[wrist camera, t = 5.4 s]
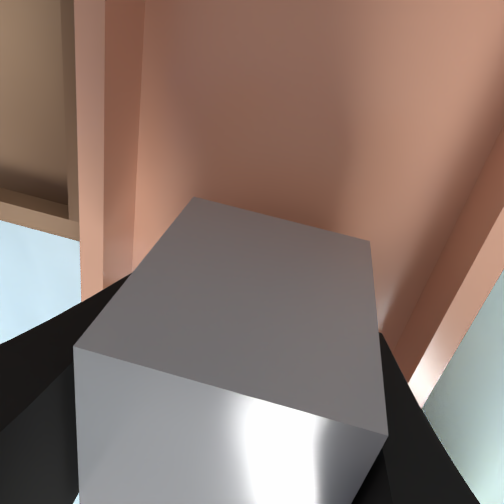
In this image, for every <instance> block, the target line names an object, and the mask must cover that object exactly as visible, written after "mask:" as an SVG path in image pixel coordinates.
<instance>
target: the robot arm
mask: <svg viewBox="0 0 504 504" xmlns="http://www.w3.org/2000/svg"><path fill="white" fill-rule="evenodd" d="M131 274H132V273H130V274H129V275H127V276H125V277H123V278H122V279H120V280H118V281H117V282H115V283H113V284H112V285H110V286H108V287H107V288H105V289H103V290H101V291H100V292H98V293H96V294H95V295H93V296H91V297H90V298H88V299H86V300H84V301H82V302H81V303H79V304H77V305H75V306H74V307H72V308H70V309H68V310H66V311H65V312H63V313H61V314H59V315H58V316H56V317H54V318H52V319H50V320H48V321H46V322H44V323H42V324H40V325H38V326H36V327H34V328H32V329H30V330H29V331H27V332H25V333H23V334H21V335H19V336H17V337H15V338H13V339H11V340H9V341H7V342H4V343H2V344H0V504H73V502H74V500H75V498H76V497H77V495H78V493H79V476H78V452H77V428H76V404H75V380H74V355H73V346H74V345H75V343H76V342H77V341H78V340H79V338H80V337H81V336H82V335H83V333H84V332H85V331H86V330H87V328H88V327H89V326H90V325H91V323H92V322H93V321H94V320H95V319H96V317H97V316H98V315H99V314H100V312H101V311H102V310H103V309H104V307H105V306H106V305H107V304H108V302H109V301H110V300H111V299H112V297H113V296H114V295H115V294H116V292H117V291H118V290H119V289H120V287H121V286H122V285H123V284H124V282H125V281H126V280H127V279H128V277H129V276H130V275H131ZM379 342H380V352H381V363H382V373H383V384H384V395H385V405H386V416H387V426H388V437H387V439H386V441H385V443H384V445H383V447H382V448H381V450H380V452H379V454H378V456H377V457H376V459H375V461H374V463H373V465H372V467H371V468H370V470H369V472H368V474H367V476H366V477H365V479H364V481H363V483H362V485H361V487H360V488H359V490H358V492H357V494H356V496H355V498H354V499H353V501H352V503H351V504H480V503H479V501H478V500H477V498H476V497H475V495H474V494H473V493H472V491H471V490H470V488H469V487H468V485H467V484H466V482H465V481H464V479H463V478H462V476H461V474H460V473H459V471H458V470H457V468H456V467H455V465H454V463H453V462H452V460H451V459H450V457H449V455H448V454H447V452H446V451H445V449H444V447H443V446H442V444H441V442H440V441H439V439H438V437H437V436H436V434H435V432H434V430H433V429H432V427H431V425H430V423H429V422H428V420H427V418H426V416H425V414H424V413H423V411H422V409H421V407H420V406H419V404H418V402H417V400H416V398H415V396H414V395H413V393H412V391H411V389H410V387H409V385H408V383H407V381H406V379H405V377H404V375H403V373H402V372H401V370H400V368H399V366H398V364H397V362H396V360H395V358H394V356H393V354H392V352H391V350H390V348H389V346H388V344H387V342H386V340H385V338H384V336H383V334H382V333H380V332H379Z"/></svg>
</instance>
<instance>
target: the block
mask: <svg viewBox="0 0 504 504" xmlns="http://www.w3.org/2000/svg"><path fill="white" fill-rule="evenodd" d="M73 355H74V380H75V404H76V428H77V452H78V476H79V500H80V504H351V503H352V501H353V499H354V498H355V496H356V494H357V492H358V490H359V488H360V487H361V485H362V483H363V481H364V479H365V477H366V476H367V474H368V472H369V470H370V468H371V467H372V465H373V463H374V461H375V459H376V457H377V456H378V454H379V452H380V450H381V448H382V447H383V445H384V443H385V441H386V439H387V437H388V426H387V416H386V405H385V395H384V384H383V373H382V363H381V352H380V342H379V331H378V321H377V310H376V299H375V289H374V278H373V268H372V257H371V247H370V241H367V240H363V239H359V238H356V237H352V236H348V235H344V234H340V233H336V232H332V231H328V230H324V229H320V228H316V227H312V226H308V225H304V224H300V223H296V222H292V221H288V220H284V219H280V218H276V217H273V216H269V215H265V214H261V213H257V212H253V211H249V210H245V209H241V208H237V207H233V206H229V205H225V204H221V203H217V202H213V201H209V200H205V199H201V198H197V197H193V198H192V199H191V200H190V202H189V203H188V204H187V205H186V207H185V208H184V209H183V210H182V212H181V213H180V214H179V215H178V217H177V218H176V219H175V220H174V222H173V223H172V224H171V225H170V226H169V228H168V229H167V230H166V231H165V233H164V234H163V235H162V236H161V238H160V239H159V240H158V241H157V243H156V244H155V245H154V246H153V248H152V249H151V250H150V251H149V253H148V254H147V255H146V256H145V258H144V259H143V260H142V261H141V263H140V264H139V265H138V266H137V268H136V269H135V270H134V271H133V272H132V274H131V275H130V276H129V277H128V279H127V280H126V281H125V282H124V284H123V285H122V286H121V287H120V289H119V290H118V291H117V292H116V294H115V295H114V296H113V297H112V299H111V300H110V301H109V302H108V304H107V305H106V306H105V307H104V309H103V310H102V311H101V312H100V314H99V315H98V316H97V317H96V319H95V320H94V321H93V322H92V323H91V325H90V326H89V327H88V328H87V330H86V331H85V332H84V333H83V335H82V336H81V337H80V338H79V340H78V341H77V342H76V343H75V345H74V346H73Z"/></svg>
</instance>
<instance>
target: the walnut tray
mask: <svg viewBox="0 0 504 504" xmlns="http://www.w3.org/2000/svg"><path fill="white" fill-rule="evenodd" d="M0 220H2V221H6V222H10V223H13V224H17V225H21V226H24V227H28V228H32V229H36V230H39V231H43V232H47V233H50V234H54V235H58V236H61V237H65V238H69V239H73V240H76V241H80V226H79V186H78V146H77V106H76V66H75V26H74V0H0Z"/></svg>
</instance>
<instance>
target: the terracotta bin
mask: <svg viewBox="0 0 504 504" xmlns="http://www.w3.org/2000/svg"><path fill="white" fill-rule="evenodd" d="M74 26H75V66H76V106H77V146H78V186H79V226H80V266H81V302H82V301H84V300H86V299H88V298H90V297H91V296H93V295H95V294H96V293H98V292H100V291H101V290H103V289H105V288H107V287H108V286H110V285H112V284H113V283H115V282H117V281H118V280H120V279H122V278H123V277H125V276H127V275H129V274H130V273H132V272H133V271H134V270H135V269H136V268H137V266H138V265H139V264H140V263H141V261H142V260H143V259H144V258H145V256H146V255H147V254H148V253H149V251H150V250H151V249H152V248H153V246H154V245H155V244H156V243H157V241H158V240H159V239H160V238H161V236H162V235H163V234H164V233H165V231H166V230H167V229H168V228H169V226H170V225H171V224H172V223H173V222H174V220H175V219H176V218H177V217H178V215H179V214H180V213H181V212H182V210H183V209H184V208H185V207H186V205H187V204H188V203H189V202H190V200H191V199H192V198H193V197H197V198H201V199H205V200H209V201H213V202H217V203H221V204H225V205H229V206H233V207H237V208H241V209H245V210H249V211H253V212H257V213H261V214H265V215H269V216H273V217H276V218H280V219H284V220H288V221H292V222H296V223H300V224H304V225H308V226H312V227H316V228H320V229H324V230H328V231H332V232H336V233H340V234H344V235H348V236H352V237H356V238H359V239H363V240H367V241H370V247H371V257H372V268H373V278H374V289H375V299H376V310H377V321H378V331H379V332H380V333H382V334H383V336H384V338H385V340H386V342H387V344H388V346H389V348H390V350H391V352H392V354H393V356H394V358H395V360H396V362H397V364H398V366H399V368H400V370H401V372H402V373H403V375H404V377H405V379H406V381H407V383H408V385H409V387H410V389H411V391H412V393H413V395H414V396H415V398H416V400H417V402H418V404H419V406H420V407H421V409H422V407H423V405H424V404H425V402H426V400H427V399H428V397H429V395H430V393H431V392H432V390H433V388H434V387H435V385H436V383H437V382H438V380H439V378H440V376H441V375H442V373H443V371H444V370H445V368H446V366H447V365H448V363H449V361H450V359H451V358H452V356H453V354H454V353H455V351H456V349H457V348H458V346H459V344H460V342H461V341H462V339H463V337H464V336H465V334H466V332H467V331H468V329H469V327H470V326H471V324H472V322H473V320H474V319H475V317H476V315H477V314H478V312H479V310H480V309H481V307H482V305H483V303H484V302H485V300H486V298H487V297H488V295H489V293H490V292H491V290H492V288H493V286H494V285H495V283H496V281H497V280H498V278H499V276H500V275H501V273H502V271H503V269H504V0H74Z"/></svg>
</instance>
